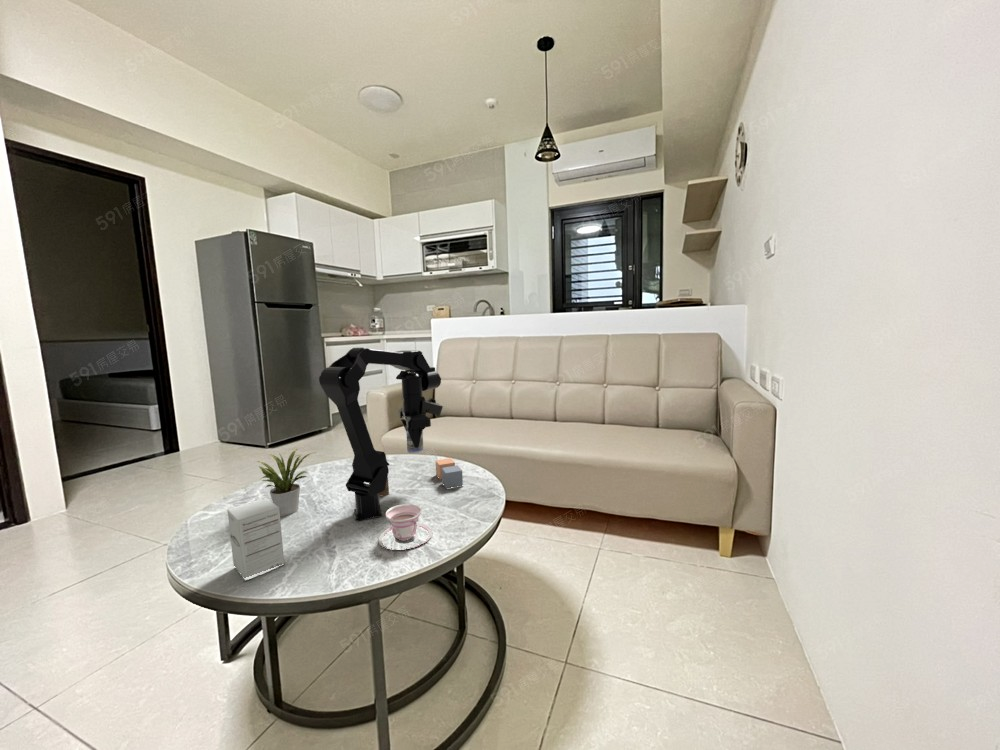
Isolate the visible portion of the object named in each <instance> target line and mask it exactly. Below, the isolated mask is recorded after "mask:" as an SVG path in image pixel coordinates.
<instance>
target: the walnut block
mask: <svg viewBox="0 0 1000 750" xmlns="http://www.w3.org/2000/svg"><path fill="white" fill-rule="evenodd" d="M368 484H371V483H368ZM389 488H390V487H389V477H387V482H386V487H385V490H384V491H382V492H380V493H378V494H379V497H381V496H388V495H390V491H389Z"/></svg>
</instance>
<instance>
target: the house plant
mask: <svg viewBox="0 0 1000 750" xmlns="http://www.w3.org/2000/svg"><path fill="white" fill-rule="evenodd" d="M297 451H298V448H297V449H294V450H293V451H291V453H290V455H289V457H288V459H287V461H286V462H287V463H286V465H285V462H284V461H285V460H284V458H283V456H282V455H281V454H279V456H280V458H279V457H278V456H275V455H274V454H270V453H269V456H271V457H272V458H273V459H274V461H275V462H276V464H277V468H278V469H279V472H280V475H281V476H279V474H278V473H277V472H276V470H275V469H274V468H273V467H272V466H270V465H269V464H267V463H266V462H263V461H259V460H256V462H257V463H260V464H262V465H264V466H258V468H259V469H260V470H261V471H262V474H263V475H264V476H262V477H261V478H260V480H261V482H269V483H273V485H272V484H268V485H266V486H265V488H269V487H272V488H271V489H270V490H269V495H270V497H271V502H273V503H274V504H275V505H277V506H278V507H279V512H280V517H281V516H289V515H292V514H294V513H296V512H297V511H298V510H299V504H300V493H301V492H300V490H301V485H300V484H298V483H295V482H296V481H298V480H300V479H304V478H307V476H306V475H303V474H309V472H308V471H306V470H303V471H300V472H299V473H298V474H297V475H296V476H295V477H294V475H295V472H296V470H297V469H298V468H299V466H300V465H301V464H302V462H303V461H304V459H306V458H307V457H308V456H310V455H312V454H316V453H317V451H316V452H311V453H307V454H306V455H304V456H303V457H301V456H302V454H296V452H297ZM295 457H296V459H295V460H294V458H295ZM293 460H294V463H293V467H292V469H291V466H292V462H293ZM262 478H264V479H262ZM265 478H266V479H265ZM265 488H264V489H265Z"/></svg>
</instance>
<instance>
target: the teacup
mask: <svg viewBox="0 0 1000 750" xmlns="http://www.w3.org/2000/svg"><path fill="white" fill-rule="evenodd" d="M421 514H422V508H421V507H420V506H418V505H415V504H411V503H410V504H409V503H404V504H397V505H394V506H391V507H390V508H389V509H387V510H386V512H385V518H386V520H387V521H388V522H389V524H390V526H391V527H389V528H387V529H385V530H383V532H382V533H381V534H379V536H378V544H379V546H380V545H381V546H382V547H381V546H380V547H381V548H383V547H385V548H387V547H386V546H384V545H383V543H382V538H383V537H384V536H385V534H387V532H389V531H391V530H392V533H393V536H394V537H395V539H396V538H397V540H398V539H399V540H398V541H400V540H407V539H409V540H411V539H412V538H413V536H414V535H416V532H417V526H419V527H422V528H424V529H425V530H427V531H428V533H429V536H428V538H427V539H426V541H424V542H423V543H425V542H427V541H428V540H429V539H430V538H431V539H432V538H433V537H432V536H433V529H432V528H431V527H430V526H429V525H427V524H425V523H422V522H421V523H420V522H418V521H419V517H420V516H421ZM411 537H412V538H411ZM410 538H411V539H410ZM431 539H430V540H431ZM430 540H429V541H430ZM407 541H408V540H407ZM429 541H428V542H429ZM428 542H427V543H428ZM423 543H421V544H423ZM421 544H419V545H421ZM425 544H426V543H425ZM419 545H416V546H414V547H417V546H419ZM423 545H424V544H423ZM385 548H384V549H385ZM410 548H413V547H410ZM417 548H418V547H417ZM391 549H392V548H391ZM406 549H407V548H406ZM394 550H396V549H394Z"/></svg>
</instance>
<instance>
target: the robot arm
mask: <svg viewBox="0 0 1000 750" xmlns="http://www.w3.org/2000/svg"><path fill="white" fill-rule="evenodd" d="M369 364H370V365H382V366H383V365H384V366H385V365H386V366H391V367H394V368H395V369H398V370H401V371H400V372H399V374H397V376H396V377H395V379H396V380H400V381H401V389H402V390H401V391H402V392H401V393H402V396H401V401H402V407H400V408H399V410H398V418H399V419H400V421H401V424H402V426H403V427H404V430H405V433H406V432H407V431H408V433H409V435H410V438H411V440H412V442H413V445H414V447H415V448H418V447H419V444H420V439H421V434H422V431H424V429H425V428H430V427H431V426H432V423H431V421H432V420H431V418H429V417H428V416H427V414H431V415H435V416H437V417H441V414H442V410H443V408H444V406H443V405H442V404H439V403H437V401H436V399H435V398H432V397H429V398H428V399H427V400H426V398H425V396H423V392H425V391H430V390H435V389H437V388H439V387H440V386H441V383H442V377H441V376H440V374H439V372H437V371H436V367H432V366H430V365H429V363H428V362H427V359H426V358H425V356H424V354H423V352H422V351H421V350H398V351H392V350H391V351H390V350H379V349H374V348H368V347H352V348H351V349H349V350H348V351H347V352H346V354H344V355H343V356H341V357H339V358H337V360H335V361H333V362H332V363H331V364H330V365H329V366H328V367H325V368H324V369H323V370H322V371H321V373H320V375H319V377H318V381H319V385H320V387H321V388H322V390H323V392H324V394H325V395H326V397H327V398H328V399H330V400H331V401H332V402H333V403H334V404H335V406H336V408H337V410H338V414H339V416H340V419H341V421H342V424H343V427H344V429H345V432H346V435H347V438H348V441H349V443H350V446H351V448H352V452H353V459H352V462H351V463H352V465H351V466H352V472H351V475H350V476H349V478H348V480H347V481H346V483H345V487H346V489H347V491H348V492H354V496H355V497H354V499H355V500H354V501H355V503H354V504H355V508H354V519H355V520H354V521H356V522H358V521H364V520H369V519H374V518H378V517H382V516H383V512H382V508H381V504H380V499H379V498H380V496H379V494H378V493H380V492H382V491H384V490H385V487H386V482H387V477H388V476H389V466H390V463H389V462H388V460H387V455H386V452H385V451H380V450H376V449H375V447H374V444H373V441H372V439H371V436H370V433H369V430H368V427H367V424H366V421H365V418H364V415H363V412H362V409H361V405H360V403H359V399H358V397H359V394H360V392H361V391H360V390H361V386H360V380H361V379H362V378H363V377H364V376H365V373H366V370H367V366H368V365H369ZM388 478H389V477H388ZM369 483H371V484H369Z"/></svg>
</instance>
